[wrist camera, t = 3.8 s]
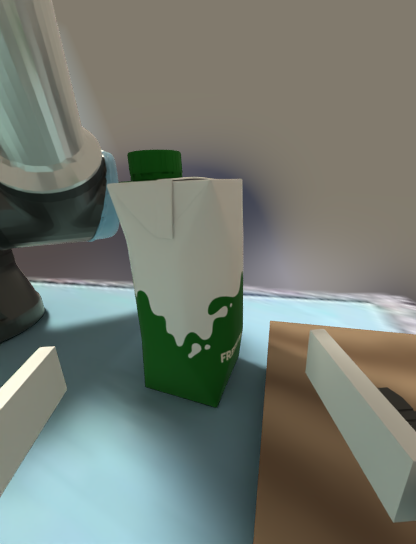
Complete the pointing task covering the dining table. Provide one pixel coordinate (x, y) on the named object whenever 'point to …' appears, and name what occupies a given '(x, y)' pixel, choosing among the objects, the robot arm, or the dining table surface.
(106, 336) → the dining table surface
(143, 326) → the soya milk
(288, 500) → the stand
